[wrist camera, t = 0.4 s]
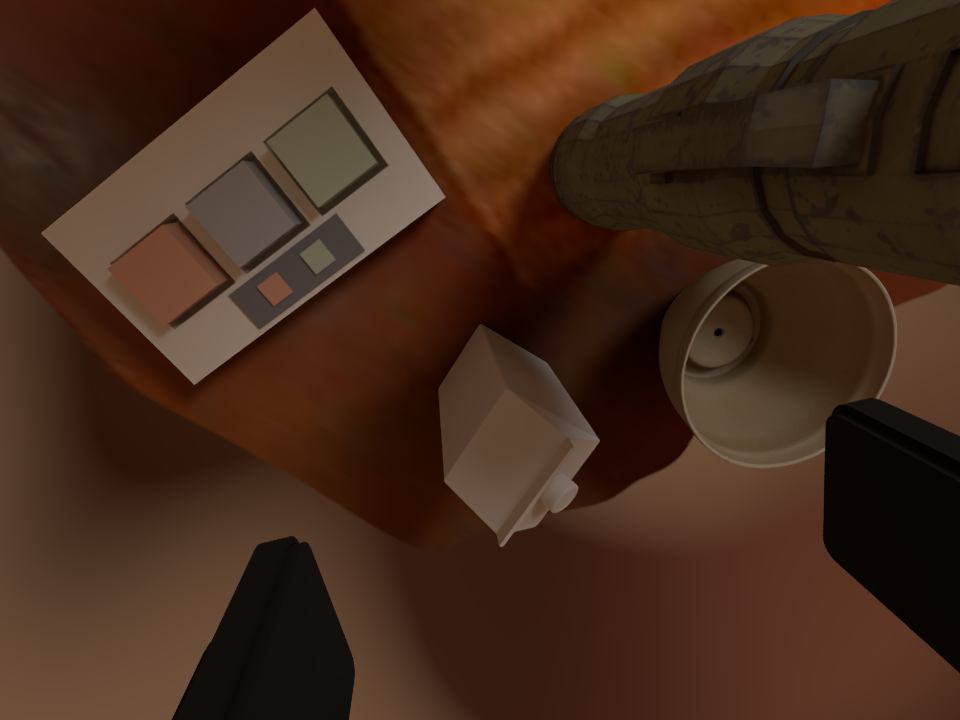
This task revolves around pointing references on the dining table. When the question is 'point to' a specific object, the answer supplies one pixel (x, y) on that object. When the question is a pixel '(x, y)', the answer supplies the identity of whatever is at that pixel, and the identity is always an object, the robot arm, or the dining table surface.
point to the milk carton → (510, 434)
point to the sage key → (323, 151)
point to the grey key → (244, 213)
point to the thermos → (791, 147)
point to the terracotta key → (168, 272)
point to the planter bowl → (775, 355)
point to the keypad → (243, 137)
